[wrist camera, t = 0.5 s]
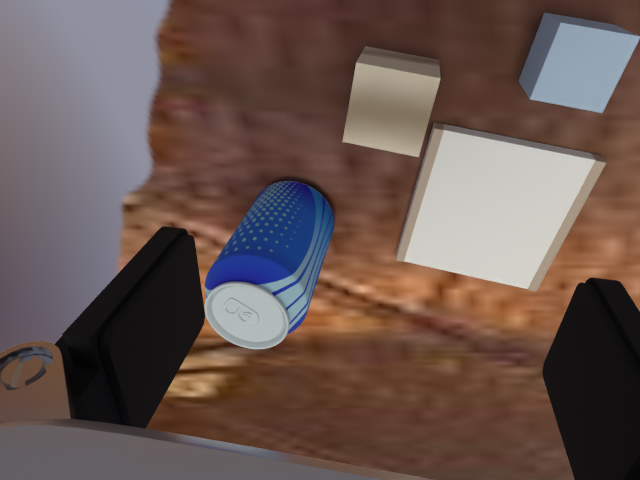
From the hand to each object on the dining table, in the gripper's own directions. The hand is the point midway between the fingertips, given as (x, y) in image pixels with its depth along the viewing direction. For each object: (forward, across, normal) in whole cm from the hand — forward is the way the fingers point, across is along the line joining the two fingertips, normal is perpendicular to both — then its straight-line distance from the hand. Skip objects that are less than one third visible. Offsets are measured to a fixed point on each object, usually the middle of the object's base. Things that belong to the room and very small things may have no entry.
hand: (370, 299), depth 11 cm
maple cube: (+31, 0, +2) cm, 31 cm away
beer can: (+32, +9, +16) cm, 36 cm away
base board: (+31, -10, +12) cm, 35 cm away
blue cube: (+30, -12, -1) cm, 33 cm away
